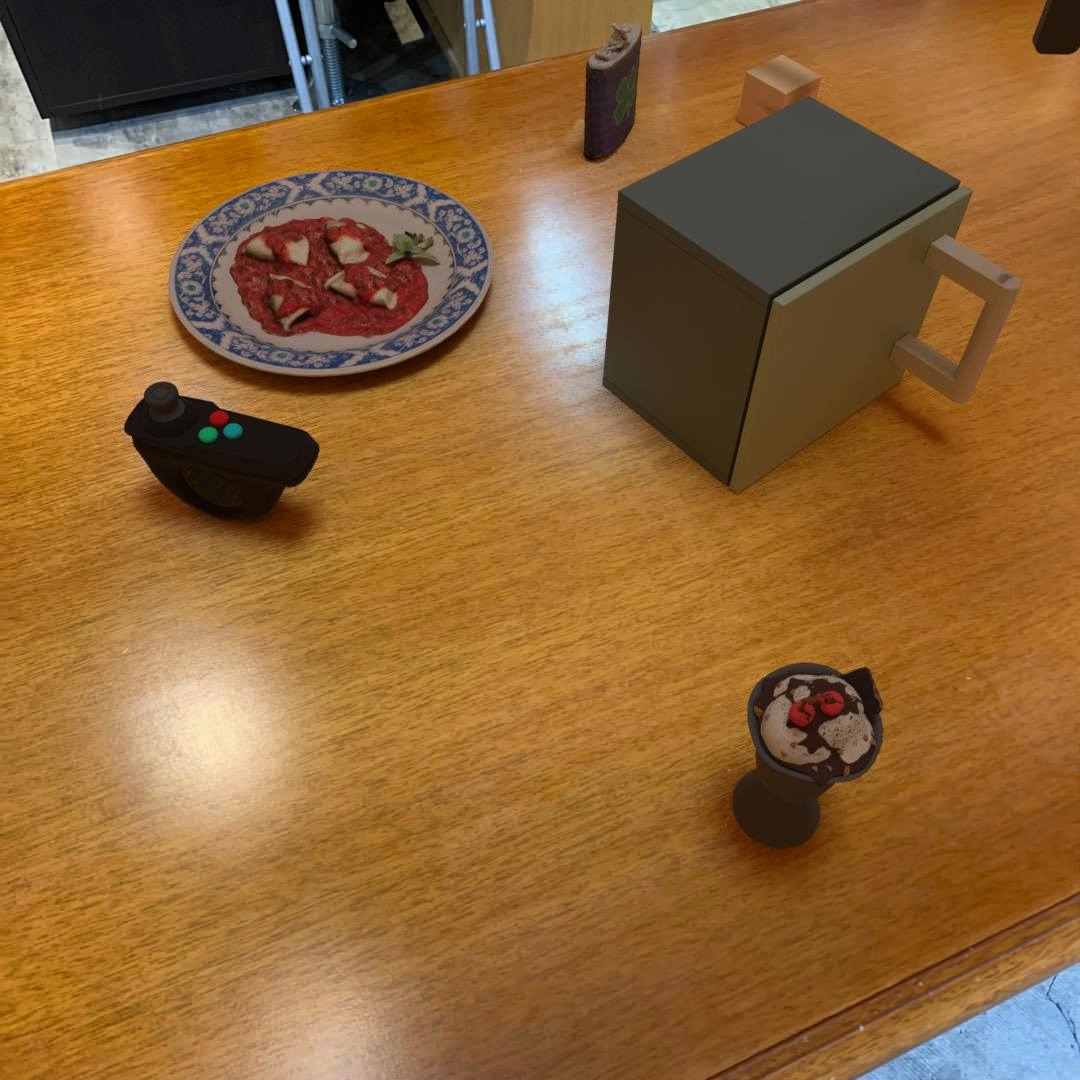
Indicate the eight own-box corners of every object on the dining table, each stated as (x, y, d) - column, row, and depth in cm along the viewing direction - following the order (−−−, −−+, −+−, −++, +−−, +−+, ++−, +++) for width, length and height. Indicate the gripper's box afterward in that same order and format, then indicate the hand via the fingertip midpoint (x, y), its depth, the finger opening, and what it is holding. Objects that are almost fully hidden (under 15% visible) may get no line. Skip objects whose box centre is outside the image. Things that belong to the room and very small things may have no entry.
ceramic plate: (173, 416, 79) (163, 386, 77) (175, 207, 95) (167, 177, 92) (520, 372, 83) (520, 342, 80) (467, 177, 98) (466, 147, 96)
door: (969, 427, 79) (1059, 237, 66) (805, 551, 72) (869, 365, 59) (893, 375, 83) (963, 184, 70) (728, 488, 75) (772, 298, 62)
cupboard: (889, 374, 83) (961, 180, 70) (725, 487, 76) (770, 294, 62) (765, 289, 89) (808, 95, 76) (601, 385, 82) (617, 190, 68)
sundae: (713, 855, 59) (762, 724, 47) (720, 746, 63) (767, 599, 52) (835, 874, 59) (915, 746, 47) (834, 763, 63) (907, 619, 51)
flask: (615, 109, 105) (624, -2, 97) (643, 117, 105) (654, 6, 96) (576, 158, 100) (582, 45, 92) (605, 166, 99) (614, 54, 91)
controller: (176, 465, 76) (137, 359, 68) (339, 505, 74) (318, 401, 66) (146, 510, 74) (101, 406, 66) (314, 553, 72) (288, 450, 64)
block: (772, 103, 106) (782, 54, 103) (810, 125, 104) (822, 75, 100) (736, 120, 104) (745, 71, 100) (775, 143, 102) (785, 93, 98)
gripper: (1466, -260, 34) (1209, 188, 47) (1286, -382, 43) (1111, 23, 56) (1226, -264, 34) (1035, 184, 47) (1095, -386, 43) (964, 20, 56)
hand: (1076, 96), depth 51 cm, fingers open, 8 cm apart
